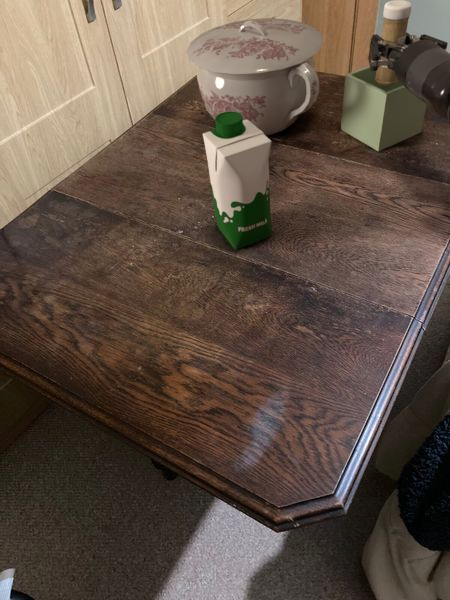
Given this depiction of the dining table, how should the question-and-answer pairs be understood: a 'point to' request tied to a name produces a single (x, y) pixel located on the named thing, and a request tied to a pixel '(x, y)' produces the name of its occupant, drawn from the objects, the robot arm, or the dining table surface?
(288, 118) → the chamber pot
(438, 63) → the robot arm
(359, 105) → the bin
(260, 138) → the milk carton
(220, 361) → the dining table surface
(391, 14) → the sprinkles bottle
